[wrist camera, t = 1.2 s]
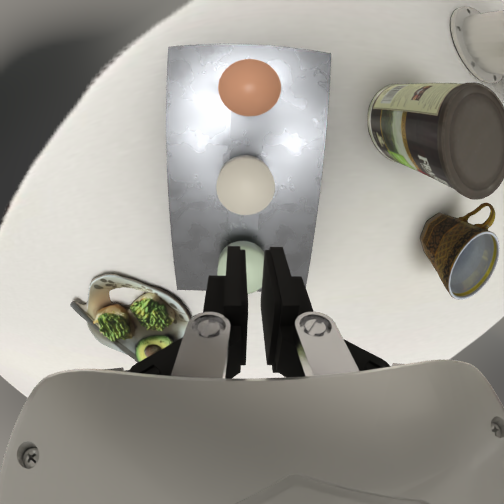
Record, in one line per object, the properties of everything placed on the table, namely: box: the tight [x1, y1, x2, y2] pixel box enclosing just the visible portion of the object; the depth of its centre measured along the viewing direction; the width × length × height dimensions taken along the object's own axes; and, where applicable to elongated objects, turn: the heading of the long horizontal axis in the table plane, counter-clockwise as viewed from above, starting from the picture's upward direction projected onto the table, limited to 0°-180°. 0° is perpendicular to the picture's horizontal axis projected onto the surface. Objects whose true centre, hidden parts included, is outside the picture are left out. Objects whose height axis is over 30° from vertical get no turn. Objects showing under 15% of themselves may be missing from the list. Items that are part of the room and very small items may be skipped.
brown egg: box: [218, 59, 281, 116], centre depth 23 cm, size 5×5×5 cm
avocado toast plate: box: [70, 274, 191, 362], centre depth 39 cm, size 19×18×5 cm
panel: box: [166, 44, 331, 291], centre depth 29 cm, size 16×28×3 cm, turn 178°
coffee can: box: [368, 83, 504, 199], centre depth 22 cm, size 10×10×14 cm
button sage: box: [217, 241, 264, 294], centre depth 31 cm, size 5×5×5 cm
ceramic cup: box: [420, 203, 499, 300], centre depth 30 cm, size 13×10×10 cm
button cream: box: [216, 155, 275, 215], centre depth 27 cm, size 5×5×5 cm
